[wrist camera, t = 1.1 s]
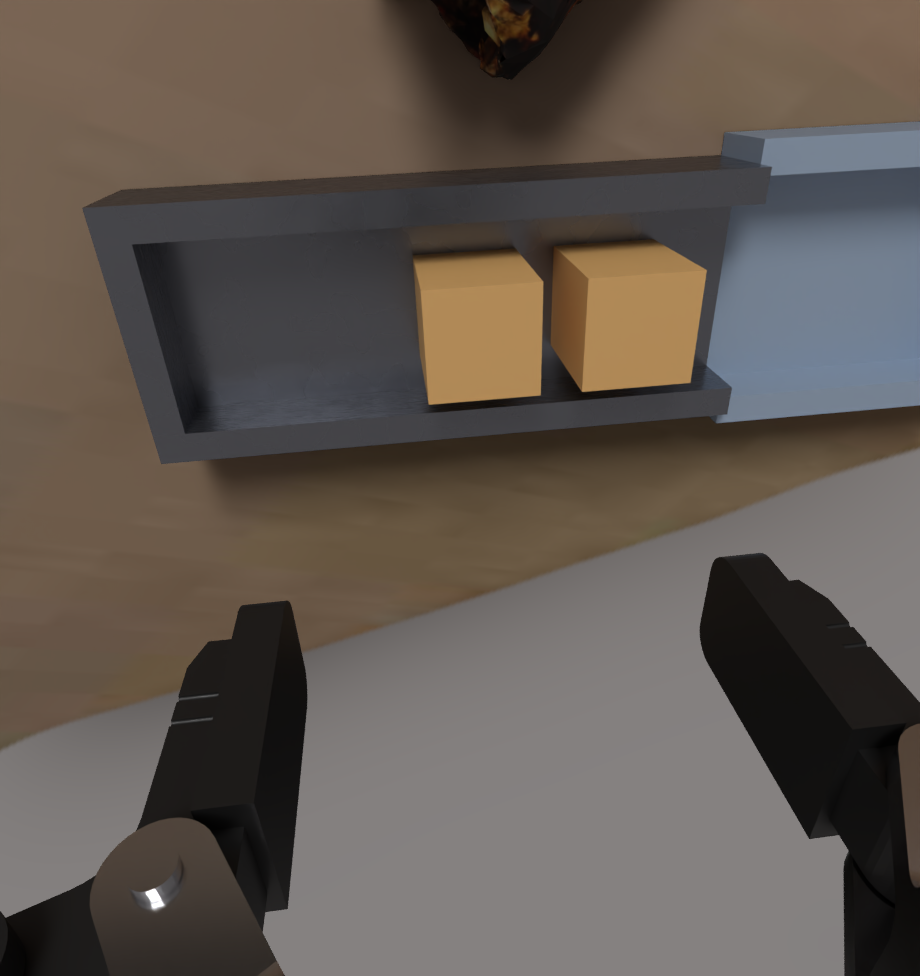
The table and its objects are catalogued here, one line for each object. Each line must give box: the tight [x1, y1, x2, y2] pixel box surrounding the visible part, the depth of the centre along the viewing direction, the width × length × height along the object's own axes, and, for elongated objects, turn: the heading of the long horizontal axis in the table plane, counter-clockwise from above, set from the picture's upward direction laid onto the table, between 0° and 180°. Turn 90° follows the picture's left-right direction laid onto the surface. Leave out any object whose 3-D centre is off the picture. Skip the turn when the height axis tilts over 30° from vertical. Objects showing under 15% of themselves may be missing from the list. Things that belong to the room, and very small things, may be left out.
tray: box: [707, 122, 920, 423], centre depth 28 cm, size 12×11×3 cm
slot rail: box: [82, 155, 772, 464], centre depth 27 cm, size 23×9×4 cm, turn 92°
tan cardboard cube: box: [413, 248, 543, 405], centre depth 25 cm, size 4×4×5 cm
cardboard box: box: [551, 239, 707, 392], centre depth 26 cm, size 4×4×5 cm
